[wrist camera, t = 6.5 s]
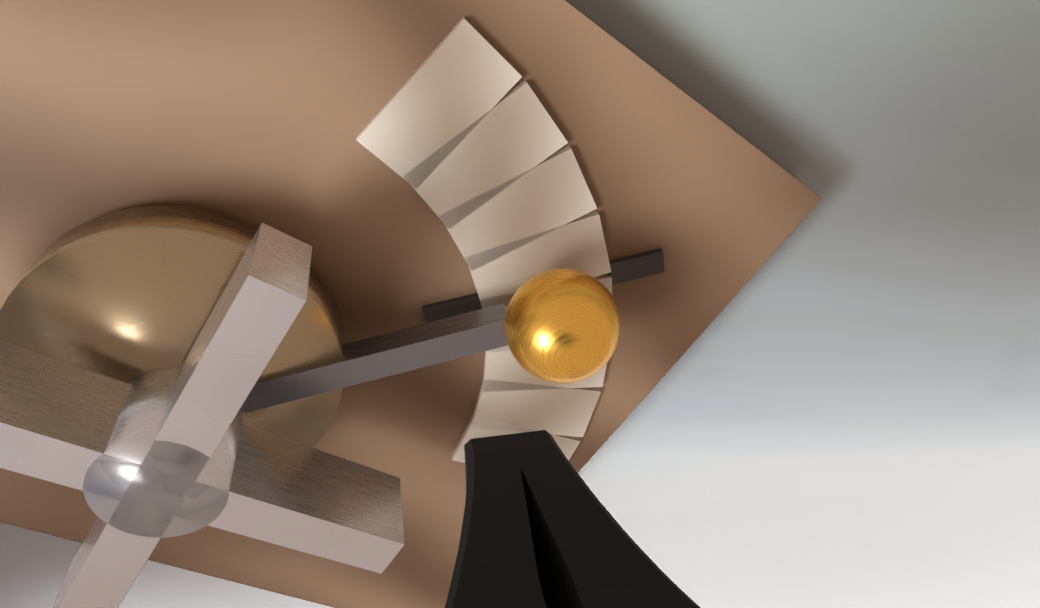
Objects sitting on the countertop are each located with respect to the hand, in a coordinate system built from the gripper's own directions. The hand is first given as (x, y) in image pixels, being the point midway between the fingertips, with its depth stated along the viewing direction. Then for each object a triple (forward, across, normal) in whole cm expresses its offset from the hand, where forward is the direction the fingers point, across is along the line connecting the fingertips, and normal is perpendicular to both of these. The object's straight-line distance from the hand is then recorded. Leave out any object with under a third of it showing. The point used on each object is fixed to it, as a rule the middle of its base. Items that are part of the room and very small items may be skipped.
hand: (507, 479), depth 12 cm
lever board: (+10, +4, +2) cm, 11 cm away
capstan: (+9, +5, +3) cm, 11 cm away
